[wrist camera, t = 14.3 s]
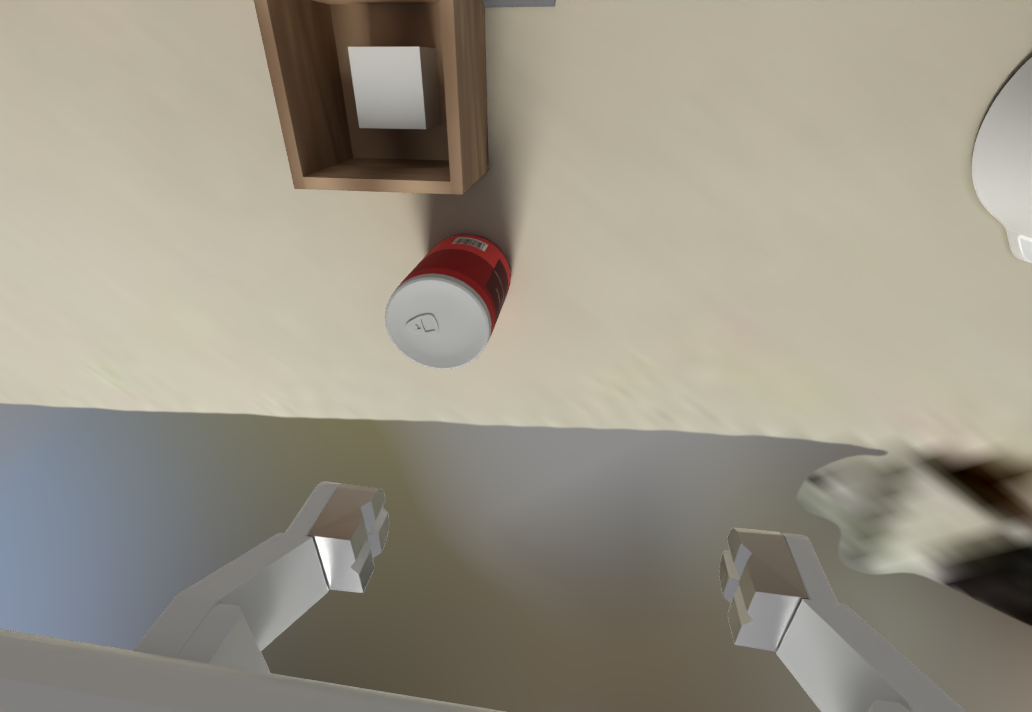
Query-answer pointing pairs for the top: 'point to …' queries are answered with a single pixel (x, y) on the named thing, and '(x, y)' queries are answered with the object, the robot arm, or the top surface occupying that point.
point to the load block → (395, 87)
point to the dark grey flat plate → (518, 3)
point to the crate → (331, 101)
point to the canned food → (449, 303)
